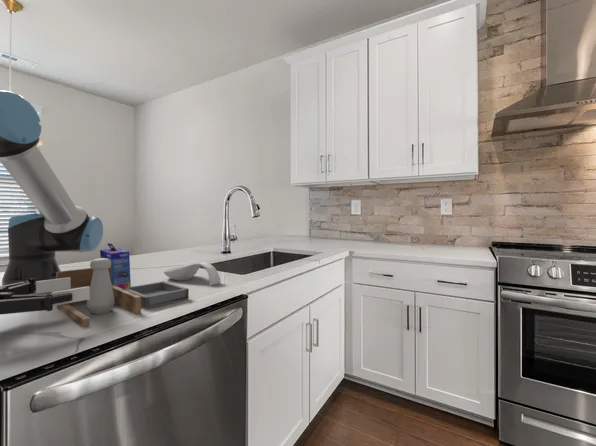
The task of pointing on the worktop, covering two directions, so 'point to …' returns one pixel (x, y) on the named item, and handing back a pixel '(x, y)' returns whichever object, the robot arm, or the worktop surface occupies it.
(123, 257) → the ink cartridge box
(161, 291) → the tray
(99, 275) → the salt shaker
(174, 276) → the spoon rest
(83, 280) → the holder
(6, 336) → the worktop surface
